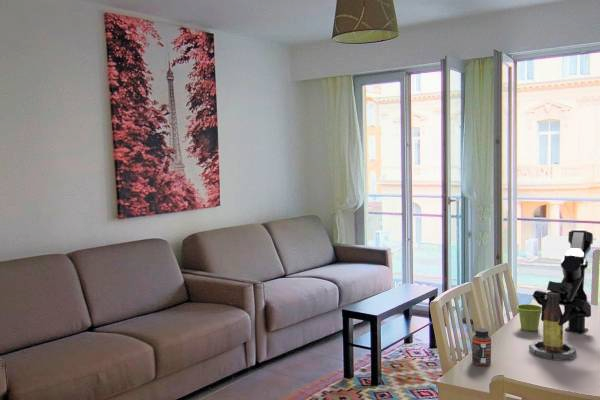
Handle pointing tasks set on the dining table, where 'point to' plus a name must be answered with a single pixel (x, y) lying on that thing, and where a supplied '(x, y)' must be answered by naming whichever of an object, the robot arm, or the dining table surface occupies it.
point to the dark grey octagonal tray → (564, 354)
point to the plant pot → (529, 316)
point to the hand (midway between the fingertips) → (550, 322)
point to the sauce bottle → (552, 324)
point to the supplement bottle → (481, 347)
